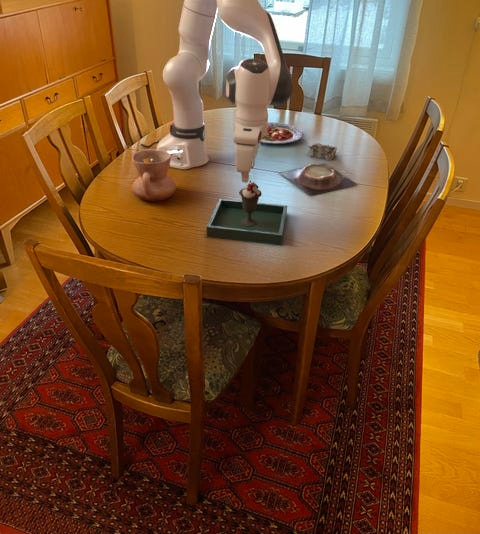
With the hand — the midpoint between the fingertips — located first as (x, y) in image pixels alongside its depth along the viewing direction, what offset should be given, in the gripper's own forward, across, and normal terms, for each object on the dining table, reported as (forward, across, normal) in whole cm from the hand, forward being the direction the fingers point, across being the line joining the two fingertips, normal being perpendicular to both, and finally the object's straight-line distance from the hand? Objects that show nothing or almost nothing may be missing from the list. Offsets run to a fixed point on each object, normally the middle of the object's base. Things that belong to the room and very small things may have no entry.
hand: (248, 174), depth 129 cm
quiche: (+17, -38, +20) cm, 47 cm away
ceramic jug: (+18, -12, -33) cm, 39 cm away
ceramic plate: (+17, -77, -1) cm, 79 cm away
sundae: (+16, 0, +1) cm, 16 cm away
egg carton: (+17, -62, +21) cm, 67 cm away
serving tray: (+17, 0, +1) cm, 17 cm away
